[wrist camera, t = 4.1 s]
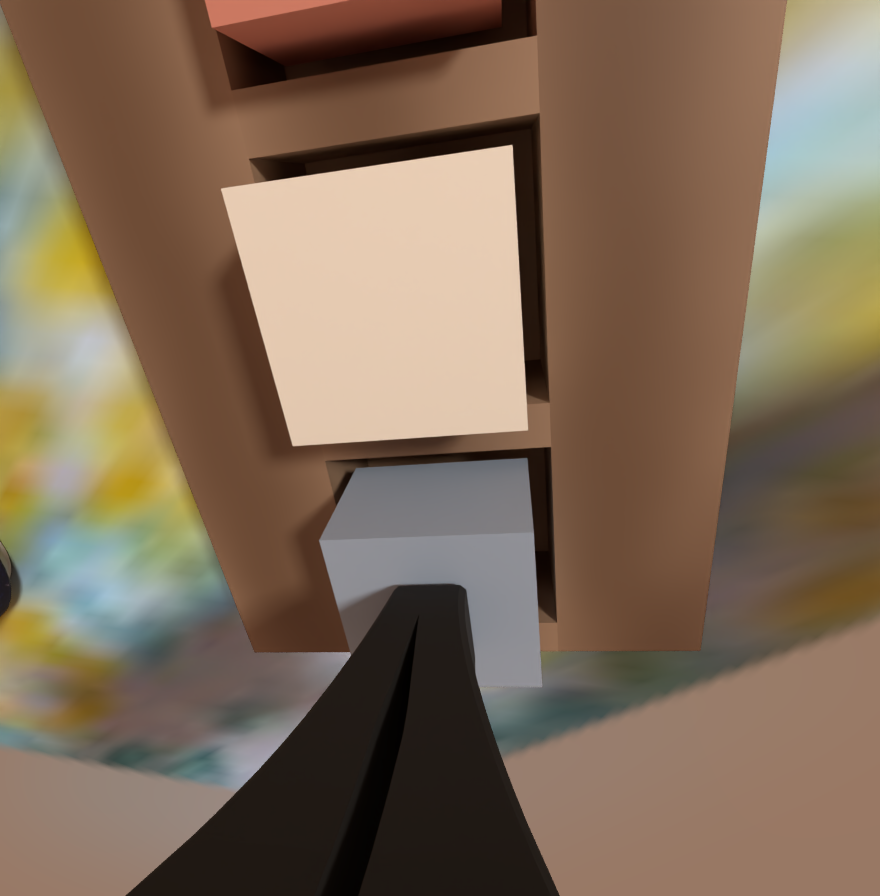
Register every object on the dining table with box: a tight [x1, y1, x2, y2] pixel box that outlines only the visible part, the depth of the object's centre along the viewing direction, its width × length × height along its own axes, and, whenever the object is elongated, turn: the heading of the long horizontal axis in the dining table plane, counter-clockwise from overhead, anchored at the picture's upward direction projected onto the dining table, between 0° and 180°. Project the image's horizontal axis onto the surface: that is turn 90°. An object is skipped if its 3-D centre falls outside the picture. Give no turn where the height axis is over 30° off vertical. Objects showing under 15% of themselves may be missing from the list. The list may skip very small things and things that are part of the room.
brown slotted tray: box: [0, 0, 787, 652], centre depth 11 cm, size 12×19×4 cm, turn 7°
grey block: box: [319, 458, 542, 687], centre depth 12 cm, size 4×4×3 cm
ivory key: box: [221, 145, 528, 446], centre depth 9 cm, size 4×4×3 cm
